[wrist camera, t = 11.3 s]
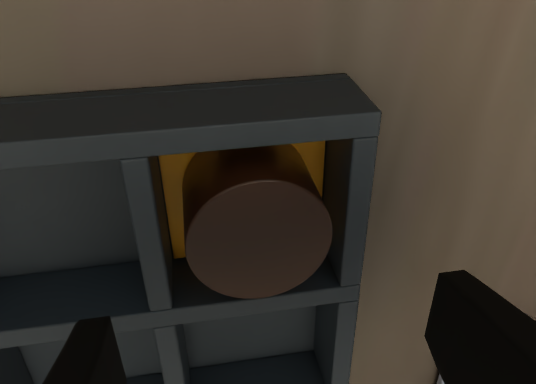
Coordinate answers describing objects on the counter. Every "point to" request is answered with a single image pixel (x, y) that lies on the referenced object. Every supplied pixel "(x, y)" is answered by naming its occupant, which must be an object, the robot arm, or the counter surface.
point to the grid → (174, 229)
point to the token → (253, 220)
